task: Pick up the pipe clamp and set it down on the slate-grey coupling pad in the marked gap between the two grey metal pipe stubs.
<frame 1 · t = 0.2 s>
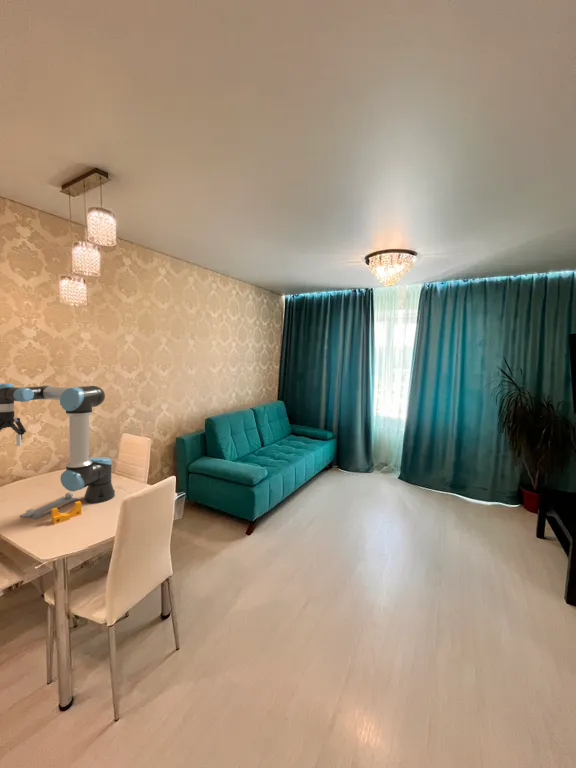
hand: (6, 448, 180), 28 cm above the table, fingers open, 13 cm apart
pipe clamp: (67, 519, 159), on the table
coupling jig: (50, 507, 170), on the table
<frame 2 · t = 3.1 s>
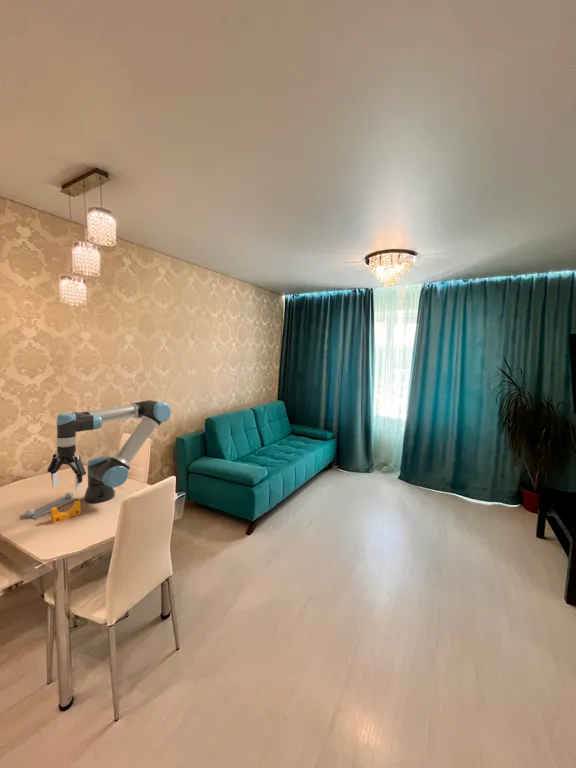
hand: (66, 487, 158), 16 cm above the table, fingers open, 13 cm apart
pipe clamp: (66, 518, 160), on the table
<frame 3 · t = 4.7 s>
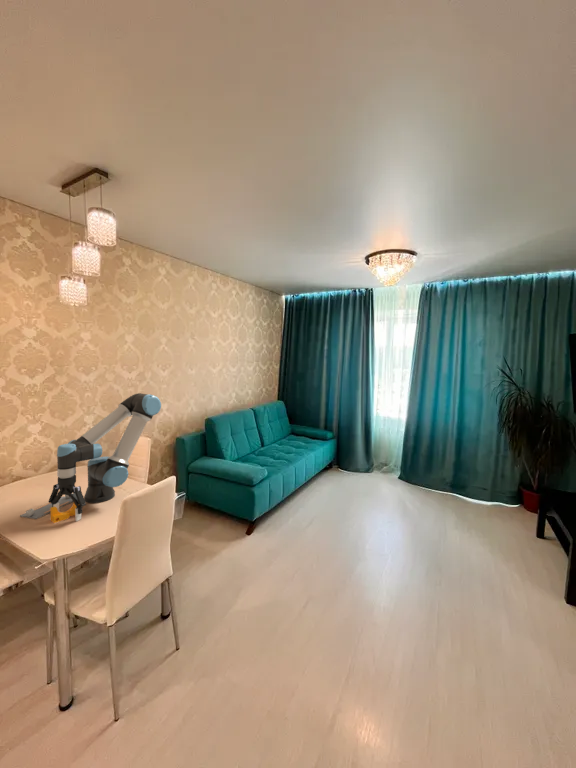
hand: (67, 518, 159), 0 cm above the table, fingers open, 12 cm apart
nothing on the table moved.
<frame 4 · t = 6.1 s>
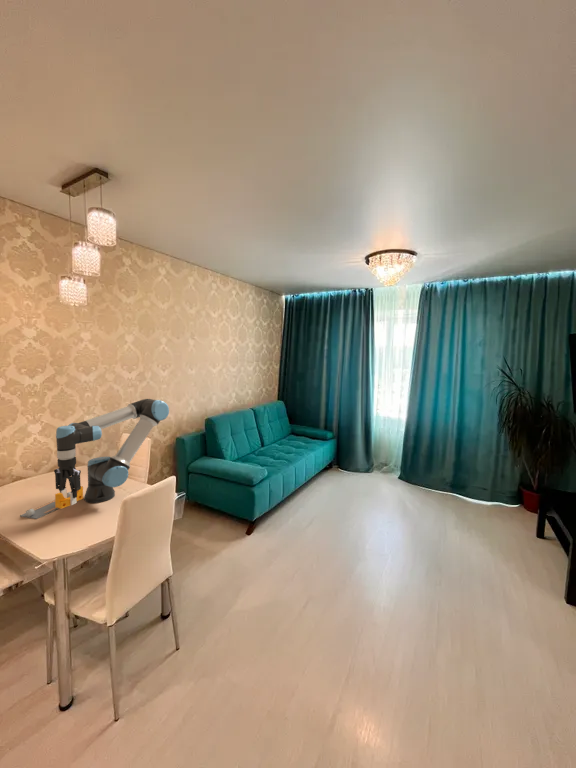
hand: (68, 503, 159), 8 cm above the table, fingers closed on pipe clamp, 5 cm apart
pipe clamp: (70, 503, 160), point 7 cm above the table, touching gripper
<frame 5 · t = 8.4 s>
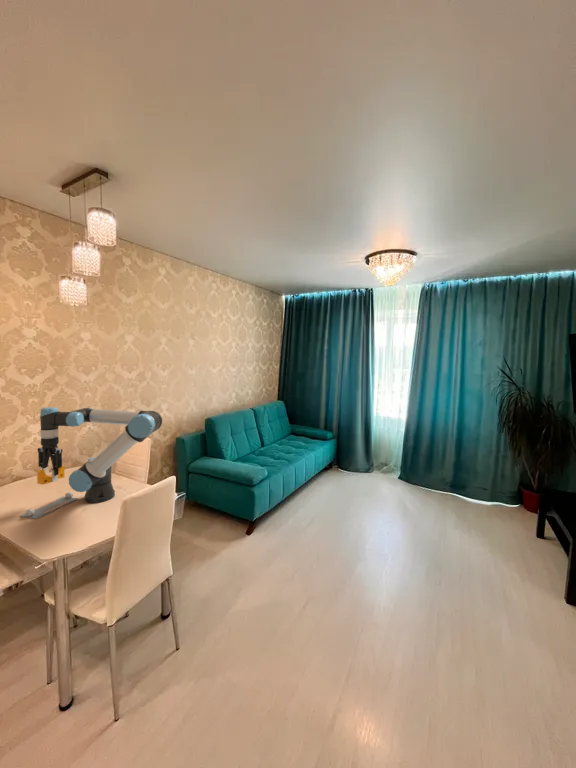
hand: (50, 480, 169), 15 cm above the table, fingers closed on pipe clamp, 5 cm apart
pipe clamp: (52, 480, 170), point 14 cm above the table, touching gripper
when the fingers open (2 cm above the table, at t = 11.1 s): pipe clamp drops 1 cm, resting on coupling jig.
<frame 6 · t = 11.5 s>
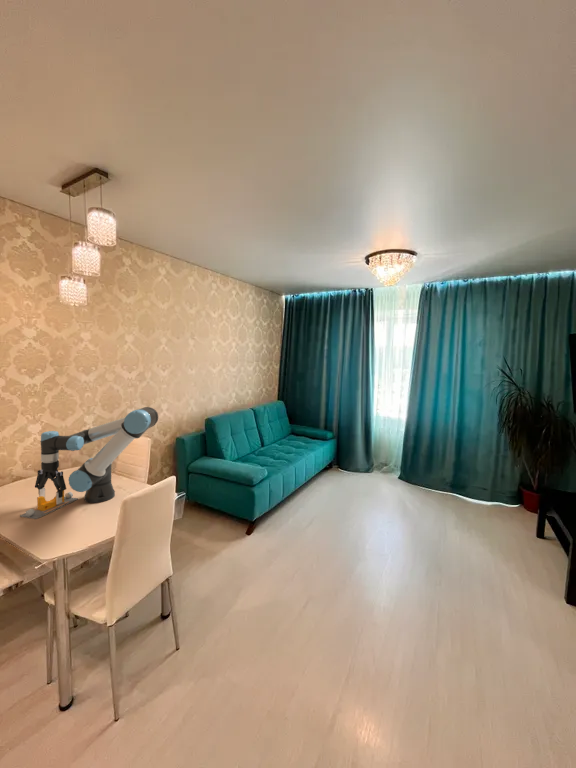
hand: (50, 502, 170), 3 cm above the table, fingers open, 10 cm apart
pipe clamp: (52, 506, 171), resting on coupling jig
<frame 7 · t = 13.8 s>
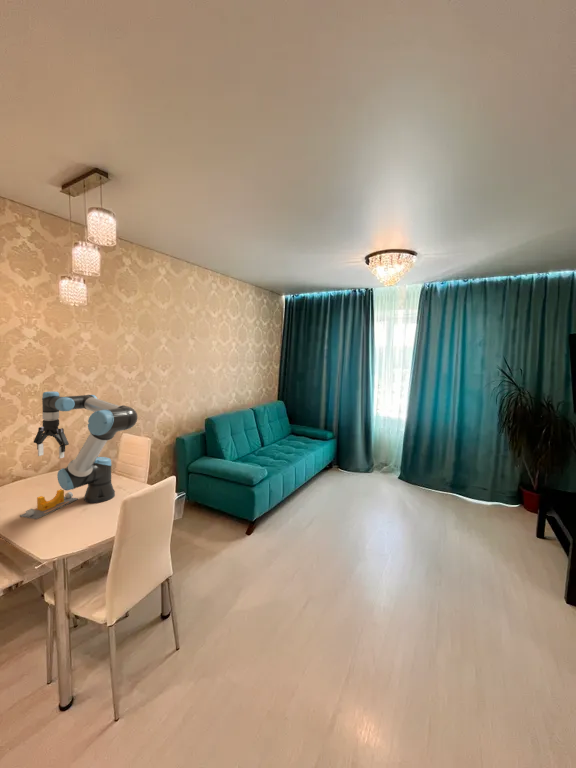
hand: (51, 456, 180), 24 cm above the table, fingers open, 13 cm apart
nothing on the table moved.
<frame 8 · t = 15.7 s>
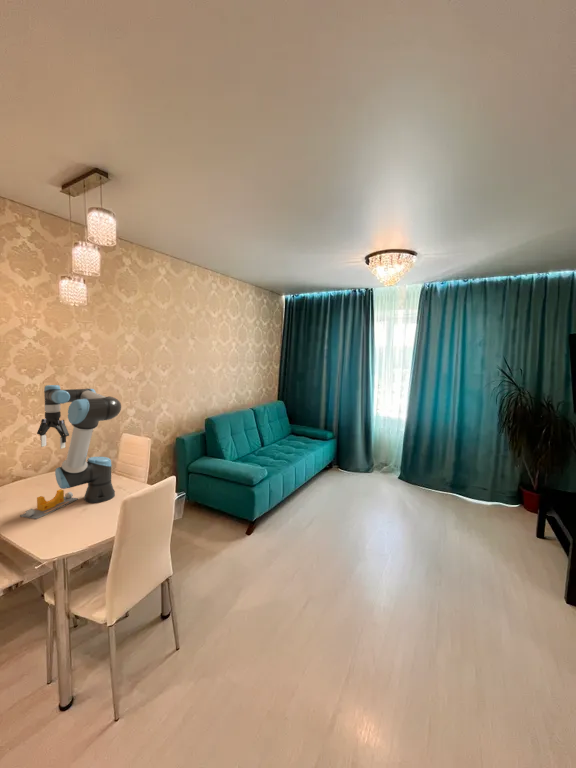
hand: (53, 447, 189), 27 cm above the table, fingers open, 13 cm apart
nothing on the table moved.
at the end: pipe clamp 0.8 cm from the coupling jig (horizontally); pipe clamp resting on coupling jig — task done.
